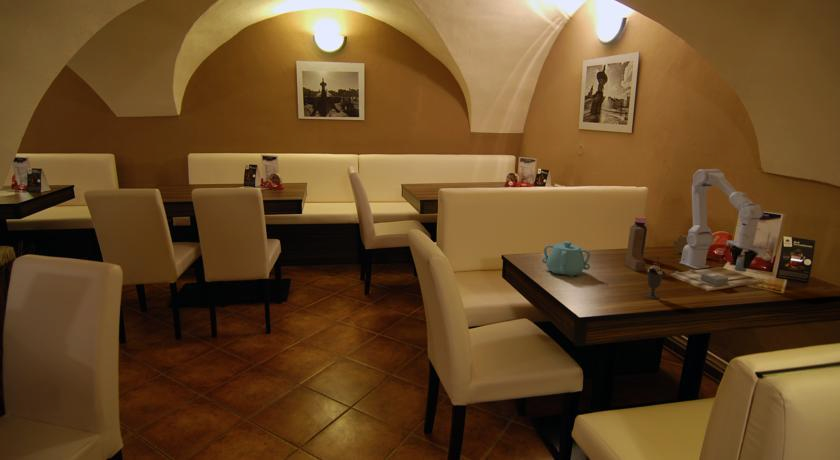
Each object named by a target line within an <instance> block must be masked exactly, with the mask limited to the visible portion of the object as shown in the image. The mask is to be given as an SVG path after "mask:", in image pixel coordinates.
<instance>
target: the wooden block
mask: <svg viewBox="0 0 840 460" xmlns="http://www.w3.org/2000/svg"><path fill="white" fill-rule="evenodd" d="M643 237H644V229H643V228H641V227H632V226H630V227H629V236H628V241H627V242H628V243H627V250H626V258H625V263H624V264H625V266H626V267H627V268H629V269H631V270H633V271H634V272H644V271H645V272H646V264H647V262H646V261H645V260H644V257H643V258H642V244H643Z"/></svg>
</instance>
